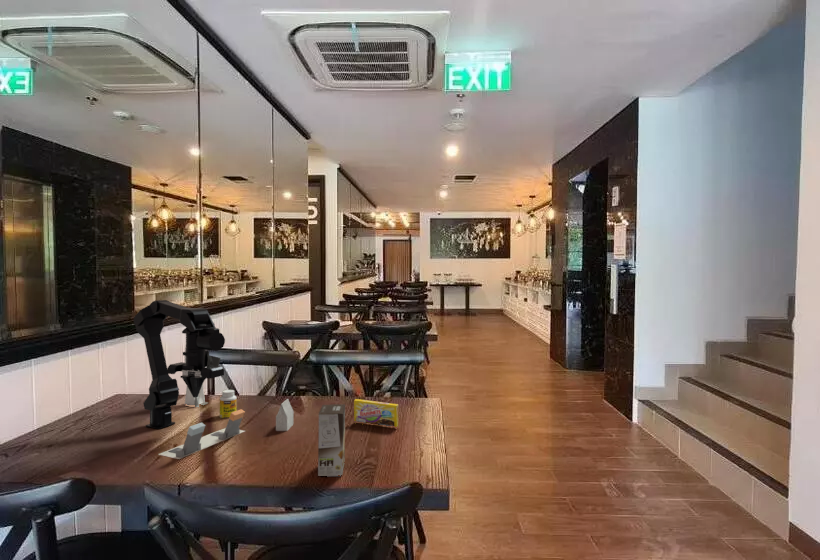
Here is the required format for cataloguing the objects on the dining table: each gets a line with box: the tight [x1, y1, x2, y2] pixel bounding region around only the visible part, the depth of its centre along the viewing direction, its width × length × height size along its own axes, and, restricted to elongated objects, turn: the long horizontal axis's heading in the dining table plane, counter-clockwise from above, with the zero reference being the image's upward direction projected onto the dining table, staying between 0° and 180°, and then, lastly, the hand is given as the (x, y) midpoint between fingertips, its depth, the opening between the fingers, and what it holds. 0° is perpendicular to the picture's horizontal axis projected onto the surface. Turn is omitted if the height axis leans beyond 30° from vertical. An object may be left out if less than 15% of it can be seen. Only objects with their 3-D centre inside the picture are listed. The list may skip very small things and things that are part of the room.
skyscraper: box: [184, 346, 209, 408], centre depth 183 cm, size 8×8×28 cm
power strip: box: [158, 427, 246, 460], centre depth 138 cm, size 8×25×3 cm, turn 157°
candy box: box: [353, 398, 399, 427], centre depth 159 cm, size 16×2×8 cm, turn 68°
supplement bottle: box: [219, 389, 238, 419], centre depth 164 cm, size 6×6×10 cm
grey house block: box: [275, 398, 295, 432], centre depth 152 cm, size 4×7×10 cm, turn 178°
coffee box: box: [317, 403, 346, 477], centre depth 122 cm, size 9×6×16 cm
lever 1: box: [182, 421, 207, 456], centre depth 128 cm, size 2×4×8 cm, turn 156°
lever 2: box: [224, 408, 246, 439], centre depth 142 cm, size 2×4×8 cm, turn 156°
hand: (195, 397), depth 148 cm, fingers closed
